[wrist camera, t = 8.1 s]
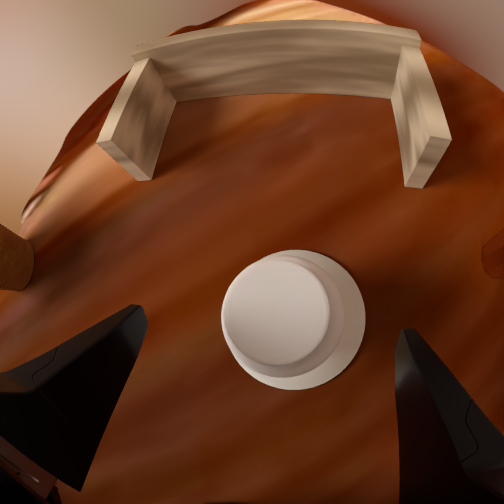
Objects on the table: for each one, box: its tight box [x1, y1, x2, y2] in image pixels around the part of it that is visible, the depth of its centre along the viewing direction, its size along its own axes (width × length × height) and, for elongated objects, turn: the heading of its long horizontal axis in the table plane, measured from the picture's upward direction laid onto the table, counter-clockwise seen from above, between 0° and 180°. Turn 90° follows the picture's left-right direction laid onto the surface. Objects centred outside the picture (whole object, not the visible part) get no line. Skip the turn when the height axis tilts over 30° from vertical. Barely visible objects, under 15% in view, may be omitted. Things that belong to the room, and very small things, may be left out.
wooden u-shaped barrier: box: [96, 20, 452, 188], centre depth 22 cm, size 12×26×8 cm, turn 83°
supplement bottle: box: [221, 255, 345, 378], centre depth 15 cm, size 6×6×10 cm
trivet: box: [232, 250, 365, 390], centre depth 20 cm, size 10×10×1 cm
